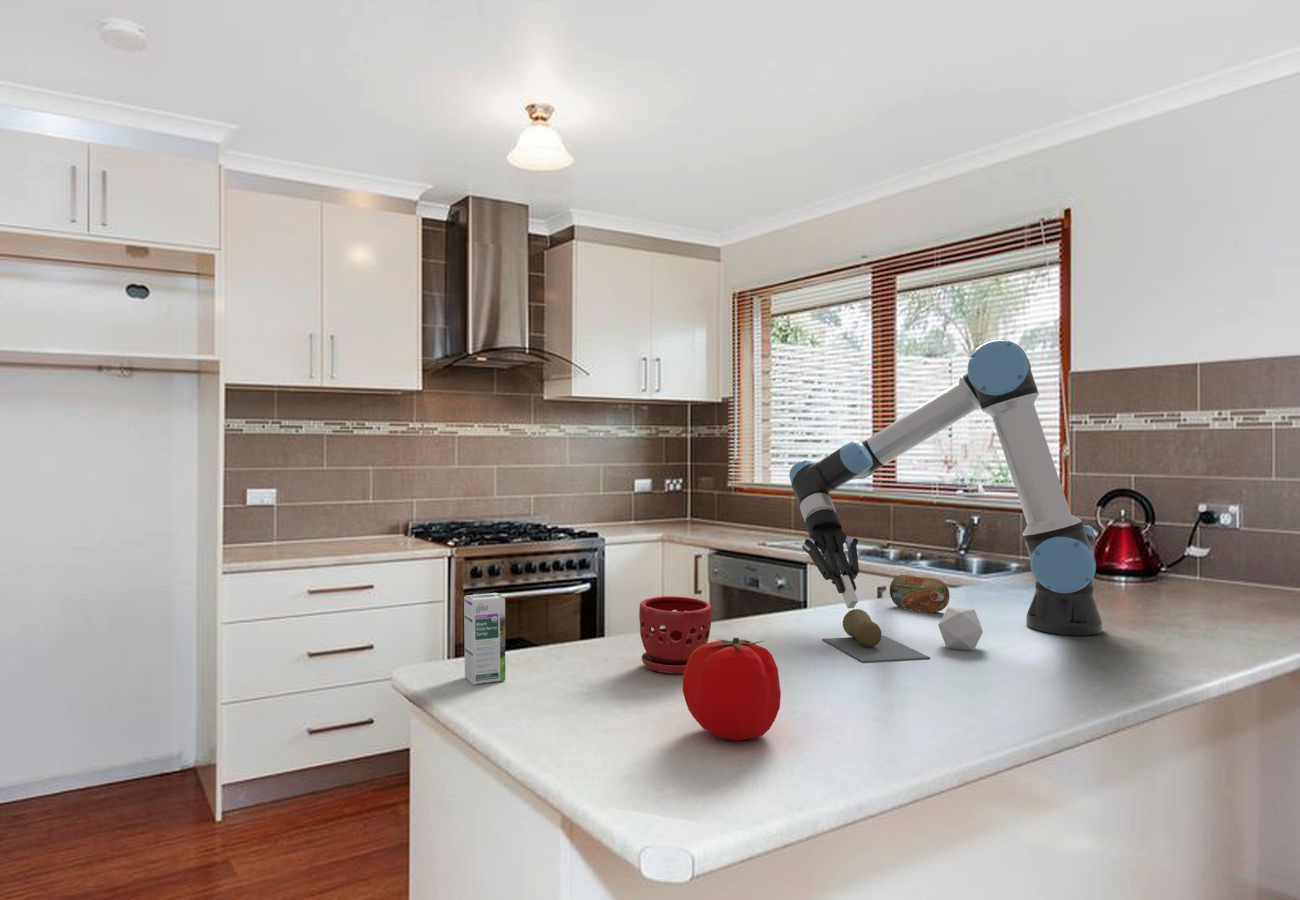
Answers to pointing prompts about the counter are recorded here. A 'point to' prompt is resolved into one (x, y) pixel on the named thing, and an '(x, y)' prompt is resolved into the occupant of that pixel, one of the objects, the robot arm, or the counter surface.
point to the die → (960, 628)
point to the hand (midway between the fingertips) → (852, 604)
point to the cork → (862, 628)
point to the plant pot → (673, 631)
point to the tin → (919, 593)
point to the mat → (876, 650)
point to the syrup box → (484, 638)
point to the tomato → (732, 688)
